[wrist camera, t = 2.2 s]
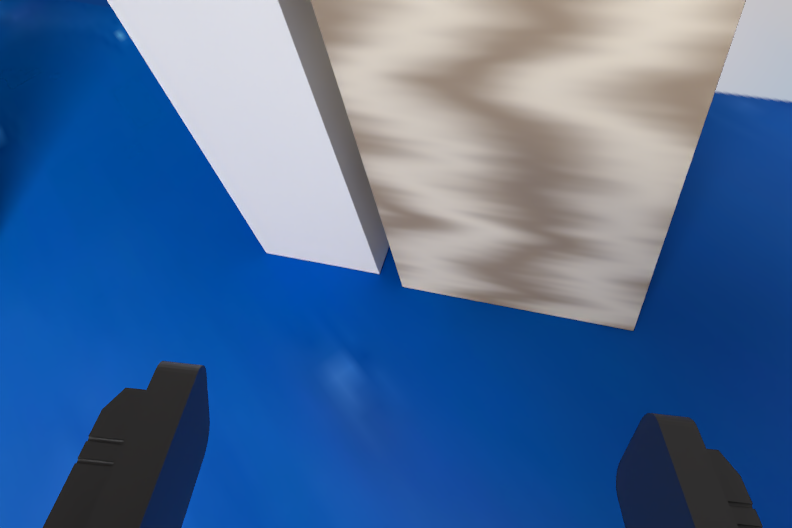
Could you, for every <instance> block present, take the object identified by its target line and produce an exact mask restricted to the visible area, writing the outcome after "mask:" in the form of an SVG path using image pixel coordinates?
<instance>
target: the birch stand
mask: <svg viewBox="0 0 792 528" xmlns="http://www.w3.org/2000/svg"><path fill="white" fill-rule="evenodd" d="M745 2H746V0H311V3H312V6H313V9H314V12H315V15H316V19H317V22H318V25H319V28H320V31H321V34H322V37H323V40H324V43H325V47H326V50H327V53H328V56H329V59H330V62H331V65H332V68H333V71H334V75H335V78H336V81H337V84H338V87H339V90H340V93H341V96H342V99H343V103H344V106H345V109H346V112H347V115H348V118H349V121H350V124H351V128H352V131H353V134H354V137H355V140H356V143H357V146H358V149H359V152H360V156H361V159H362V162H363V165H364V168H365V171H366V174H367V177H368V180H369V184H370V187H371V190H372V193H373V196H374V199H375V202H376V205H377V208H378V212H379V215H380V218H381V221H382V224H383V227H384V230H385V233H386V236H387V240H388V243H389V246H390V249H391V252H392V255H393V258H394V261H395V264H396V268H397V271H398V274H399V277H400V280H401V283H402V286H403V287H406V288H412V289H417V290H422V291H427V292H432V293H438V294H443V295H448V296H453V297H459V298H464V299H469V300H474V301H480V302H485V303H490V304H495V305H501V306H506V307H511V308H516V309H522V310H527V311H532V312H537V313H543V314H548V315H553V316H558V317H563V318H569V319H574V320H579V321H584V322H590V323H595V324H600V325H605V326H611V327H616V328H621V329H626V330H632V331H634V328H635V325H636V322H637V319H638V316H639V313H640V310H641V307H642V304H643V302H644V299H645V296H646V293H647V290H648V287H649V284H650V281H651V278H652V275H653V272H654V269H655V266H656V263H657V260H658V257H659V255H660V252H661V249H662V246H663V243H664V240H665V237H666V234H667V231H668V228H669V225H670V222H671V219H672V216H673V213H674V210H675V207H676V205H677V202H678V199H679V196H680V193H681V190H682V187H683V184H684V181H685V178H686V175H687V172H688V169H689V166H690V163H691V160H692V157H693V155H694V152H695V149H696V146H697V143H698V140H699V137H700V134H701V131H702V128H703V125H704V122H705V119H706V116H707V113H708V110H709V107H710V105H711V102H712V99H713V96H714V93H715V90H716V87H717V84H718V81H719V78H720V75H721V72H722V69H723V66H724V63H725V60H726V58H727V54H728V52H729V49H730V46H731V43H732V40H733V37H734V33H735V31H736V28H737V25H738V22H739V19H740V16H741V13H742V10H743V8H744V5H745Z"/></svg>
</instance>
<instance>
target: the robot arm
mask: <svg viewBox="0 0 792 528" xmlns="http://www.w3.org/2000/svg"><path fill="white" fill-rule="evenodd" d="M209 423H210V421H209V405H208V391H207V376H206V368H205V366H203V365H194V364H185V363H176V362H167V361H162V362H160V363H159V365H158V366H157V368H156V370H155V372H154V375H153V377H152V379H151V381H150V384H149V386H148V388H147V390H142V389H133V388H125V389H124V390H123V391H122V392H121V393H119V394H118V395H117V396H116V397H115V398H114V399H113V400H112V401H111V402H110V403H109V404H108V405H106V406H105V407H104V408H103V409H102V411H101V413H100V415H99V417H98V419H97V421H96V423H95V425H94V427H93V429H92V431H91V433H90V435H89V439H88V441H86V443H85V445H84V447H83V449H82V451H81V453H80V455H79V457H78V461H77V463H75V464H74V466H73V468H72V470H71V472H70V474H69V476H68V478H67V480H66V482H65V484H64V486H63V488H62V490H61V492H60V494H59V496H58V498H57V500H56V502H55V504H54V506H53V508H52V510H51V512H50V514H49V516H48V518H47V520H46V522H45V524H44V526H43V528H181V527H182V523H183V520H184V517H185V514H186V511H187V508H188V505H189V502H190V498H191V495H192V492H193V489H194V486H195V483H196V480H197V477H198V474H199V470H200V467H201V464H202V461H203V458H204V455H205V451H206V447H207V442H208V435H209ZM616 490H617V496H618V501H619V504H620V508H621V512H622V516H623V520H624V523H625V527H626V528H762V527H763V526H762V524H761V522H760V519H759V517H758V515H757V513H756V510H755V509H753V508H752V504H753V503H752V501H751V499H750V497H749V494H748V492H747V490H746V488H745V485H744V483H743V481H742V479H741V476H740V475H739V474H738V473H737V471H736V470H735V469H734V468H733V467H732V466H731V464H730V463H729V462H728V461H727V460H726V459H725V457H724V456H723V455H722V454H721V453H720V452H719V450H712V449H706V447H705V445H704V443H703V440H702V438H701V435H700V433H699V430H698V428H697V426H696V424H695V422H694V421H693V420H692V419H691V418H688V417H681V416H671V415H662V414H653V413H647V414H646V415H644V417H643V418H642V420H641V421H640V423H639V425H638V427H637V429H636V431H635V433H634V435H633V437H632V439H631V441H630V443H629V445H628V447H627V449H626V451H625V453H624V455H623V457H622V459H621V461H620V463H619V466H618V469H617V476H616Z"/></svg>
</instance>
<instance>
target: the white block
mask: <svg viewBox="0 0 792 528" xmlns="http://www.w3.org/2000/svg"><path fill="white" fill-rule="evenodd" d="M107 1H108V3H109V4H110V6H111V7H112V9H113V11H114V12H115V14H116V15H117V17H118V18H119V20H120V22H121V23H122V25H123V26H124V28H125V30H126V31H127V33H128V34H129V36H130V37H131V39H132V41H133V42H134V44H135V45H136V47H137V49H138V50H139V52H140V53H141V55H142V56H143V58H144V60H145V61H146V63H147V64H148V66H149V68H150V69H151V71H152V72H153V74H154V76H155V77H156V79H157V80H158V82H159V83H160V85H161V87H162V88H163V90H164V91H165V93H166V95H167V96H168V98H169V99H170V101H171V102H172V104H173V106H174V107H175V109H176V110H177V112H178V114H179V115H180V117H181V118H182V120H183V122H184V123H185V125H186V126H187V128H188V129H189V131H190V133H191V134H192V136H193V137H194V139H195V141H196V142H197V144H198V145H199V147H200V148H201V150H202V152H203V153H204V155H205V156H206V158H207V160H208V161H209V163H210V164H211V166H212V167H213V169H214V171H215V172H216V174H217V175H218V177H219V179H220V180H221V182H222V183H223V185H224V187H225V188H226V190H227V191H228V193H229V194H230V196H231V198H232V199H233V201H234V202H235V204H236V206H237V207H238V209H239V210H240V212H241V213H242V215H243V217H244V218H245V220H246V221H247V223H248V225H249V226H250V228H251V229H252V231H253V233H254V234H255V236H256V237H257V239H258V240H259V242H260V244H261V245H262V247H263V248H264V250H265V252H266V253H270V254H275V255H280V256H286V257H291V258H296V259H302V260H307V261H312V262H318V263H323V264H328V265H334V266H339V267H344V268H350V269H355V270H360V271H366V272H371V273H376V274H380V271H381V268H382V265H383V262H384V259H385V257H386V254H387V251H388V248H389V243H388V240H387V236H386V233H385V230H384V227H383V224H382V221H381V218H380V215H379V212H378V208H377V205H376V202H375V199H374V196H373V193H372V190H371V187H370V184H369V180H368V177H367V174H366V171H365V168H364V165H363V162H362V159H361V156H360V152H359V149H358V146H357V143H356V140H355V137H354V134H353V131H352V128H351V124H350V121H349V118H348V115H347V112H346V109H345V106H344V103H343V99H342V96H341V93H340V90H339V87H338V84H337V81H336V78H335V75H334V71H333V68H332V65H331V62H330V59H329V56H328V53H327V50H326V47H325V43H324V40H323V37H322V34H321V31H320V28H319V25H318V22H317V19H316V15H315V12H314V9H313V6H312V3H311V0H107Z"/></svg>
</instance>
